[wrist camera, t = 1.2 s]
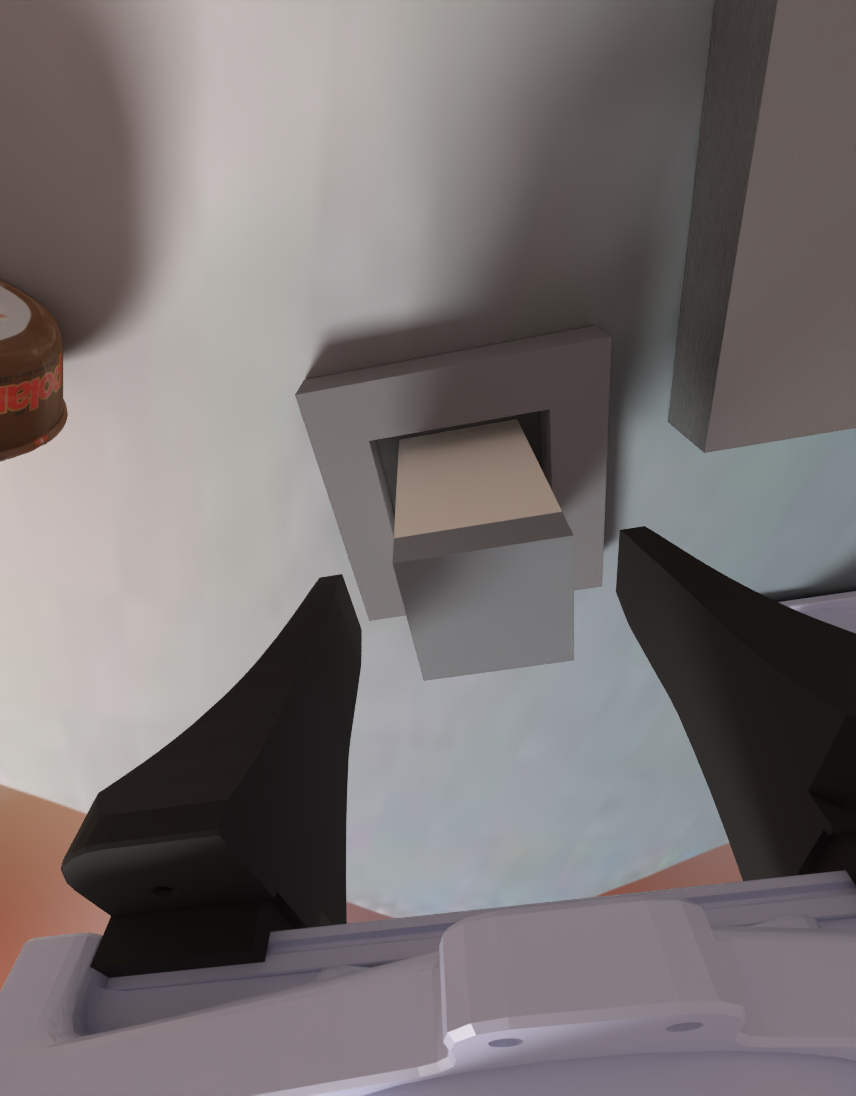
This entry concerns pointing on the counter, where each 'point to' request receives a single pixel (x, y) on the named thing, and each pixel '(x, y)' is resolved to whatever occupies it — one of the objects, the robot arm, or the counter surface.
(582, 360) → the gray square frame
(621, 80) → the counter surface
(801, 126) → the port block
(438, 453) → the plug
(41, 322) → the tin
